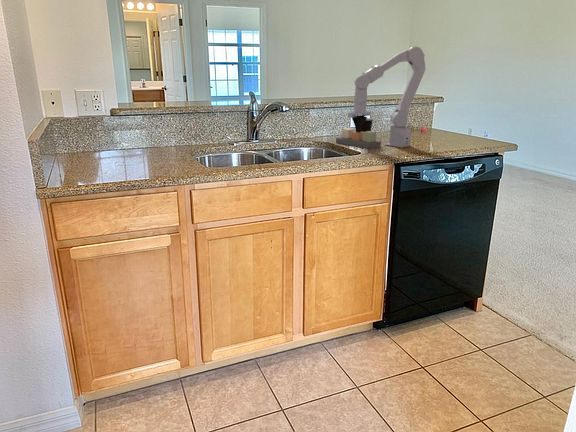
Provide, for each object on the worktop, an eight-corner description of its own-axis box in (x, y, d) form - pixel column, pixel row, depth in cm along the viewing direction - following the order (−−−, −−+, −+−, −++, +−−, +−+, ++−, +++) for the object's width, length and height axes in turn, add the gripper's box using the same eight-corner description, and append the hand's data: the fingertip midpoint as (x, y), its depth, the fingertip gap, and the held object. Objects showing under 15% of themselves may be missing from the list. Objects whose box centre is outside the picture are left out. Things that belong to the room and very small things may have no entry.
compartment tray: (380, 146, 207) (380, 141, 206) (368, 148, 201) (368, 143, 200) (347, 140, 221) (348, 136, 220) (335, 142, 215) (336, 137, 214)
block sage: (375, 141, 205) (376, 132, 204) (369, 142, 203) (370, 133, 201) (368, 140, 208) (368, 131, 207) (362, 141, 206) (362, 132, 204)
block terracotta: (364, 140, 210) (365, 132, 209) (358, 141, 207) (359, 133, 206) (357, 139, 213) (357, 131, 212) (351, 140, 210) (351, 131, 209)
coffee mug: (372, 140, 223) (374, 120, 219) (355, 140, 223) (356, 120, 219) (369, 136, 233) (370, 117, 230) (352, 136, 234) (353, 117, 230)
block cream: (354, 137, 214) (354, 129, 213) (348, 138, 212) (348, 129, 210) (347, 136, 218) (347, 128, 216) (341, 137, 215) (341, 128, 213)
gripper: (363, 101, 212) (361, 129, 216) (343, 102, 203) (341, 132, 207) (375, 102, 207) (373, 131, 211) (355, 103, 198) (353, 134, 202)
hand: (358, 132), depth 209 cm, fingers closed, pressing on block terracotta
